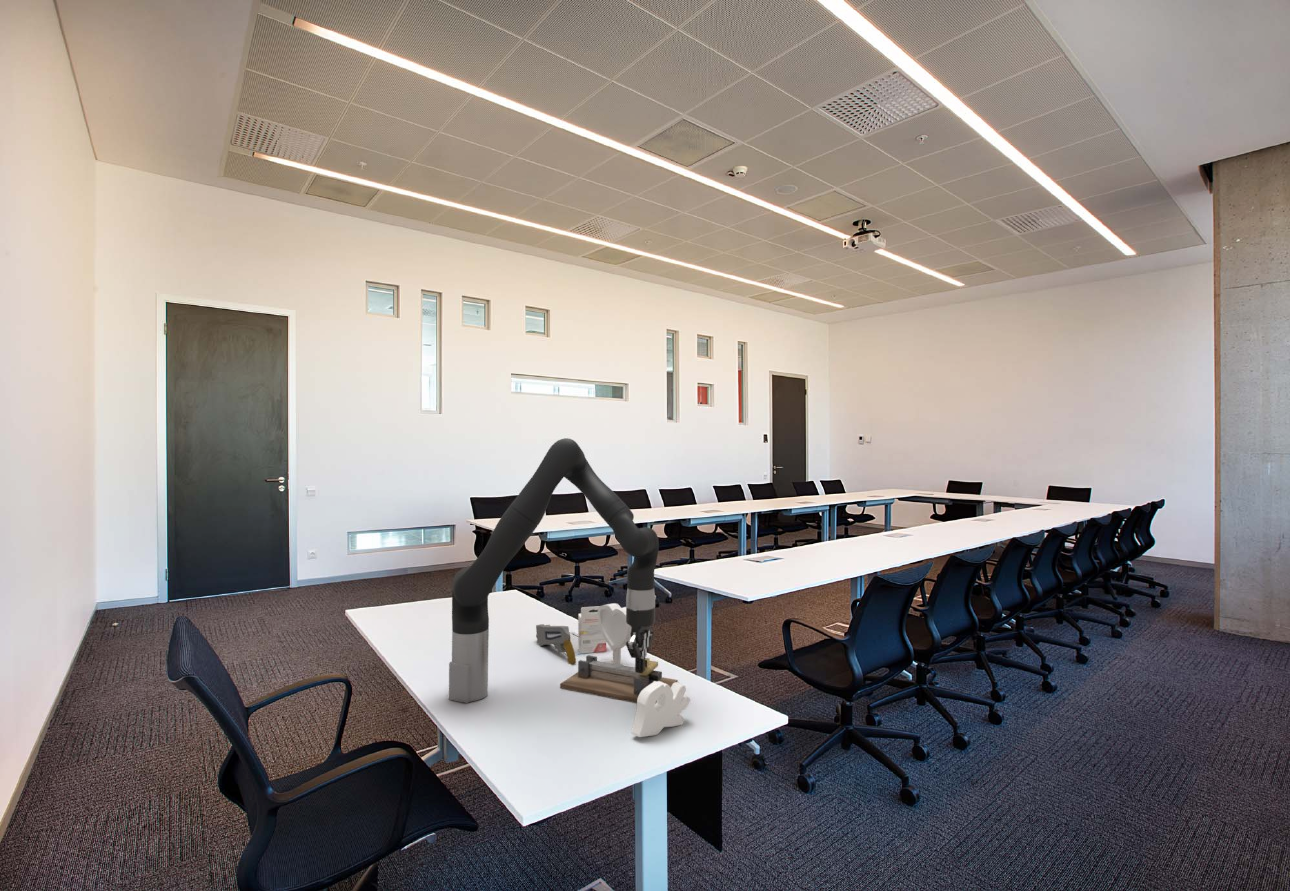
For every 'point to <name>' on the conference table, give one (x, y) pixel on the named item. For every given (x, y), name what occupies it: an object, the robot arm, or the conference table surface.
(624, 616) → the heart sculpture
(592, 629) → the ink cartridge box
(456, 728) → the conference table surface
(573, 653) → the gun
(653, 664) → the lock bolt
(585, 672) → the tong frame
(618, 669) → the tong arm
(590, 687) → the walnut board
